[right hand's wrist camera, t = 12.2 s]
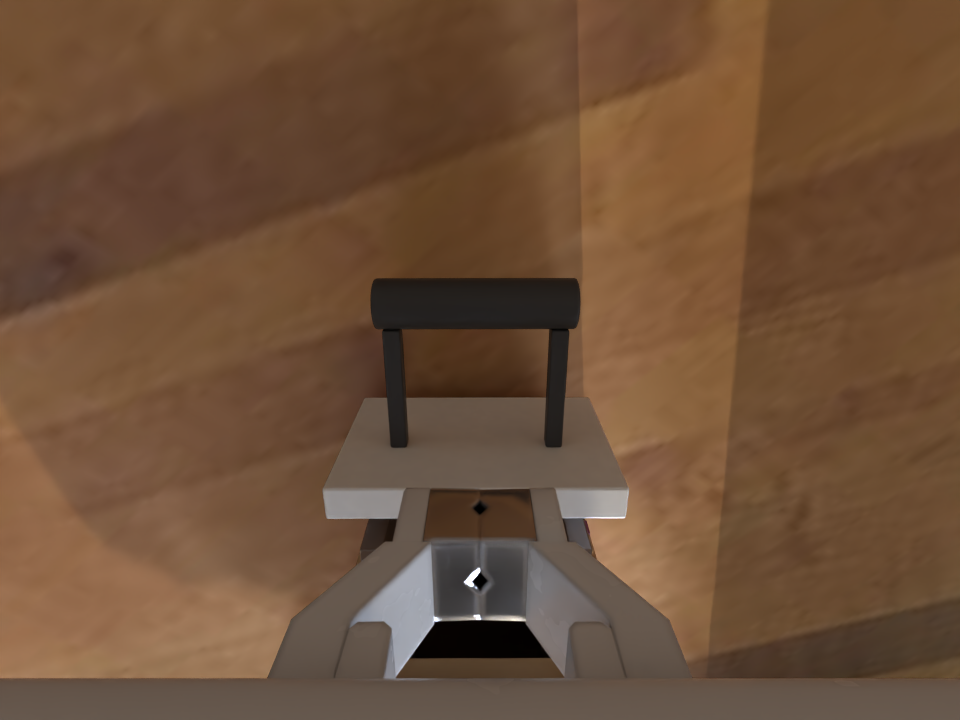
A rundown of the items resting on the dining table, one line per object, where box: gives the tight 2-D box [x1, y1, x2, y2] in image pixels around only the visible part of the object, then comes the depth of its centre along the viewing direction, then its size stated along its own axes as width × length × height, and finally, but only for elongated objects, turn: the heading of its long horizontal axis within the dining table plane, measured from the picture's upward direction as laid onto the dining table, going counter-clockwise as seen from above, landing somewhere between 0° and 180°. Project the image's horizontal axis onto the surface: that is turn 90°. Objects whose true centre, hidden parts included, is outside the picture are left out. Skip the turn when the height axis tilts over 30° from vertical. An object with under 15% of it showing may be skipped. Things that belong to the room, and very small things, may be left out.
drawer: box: [323, 278, 629, 658], centre depth 22 cm, size 22×10×7 cm, turn 0°
